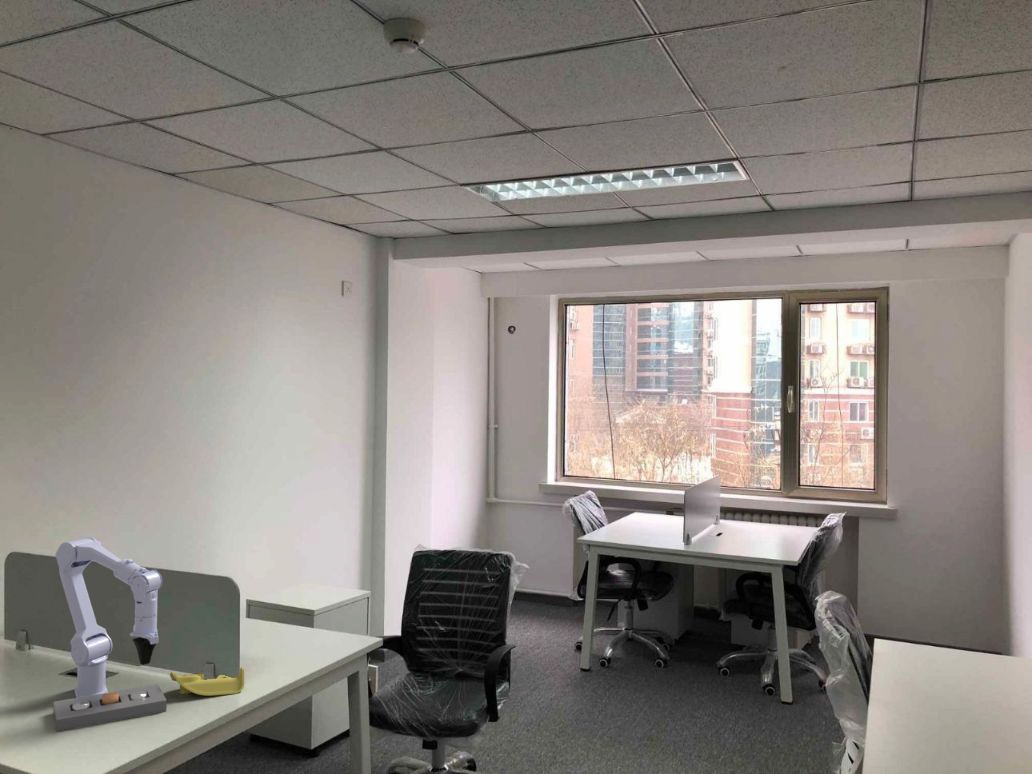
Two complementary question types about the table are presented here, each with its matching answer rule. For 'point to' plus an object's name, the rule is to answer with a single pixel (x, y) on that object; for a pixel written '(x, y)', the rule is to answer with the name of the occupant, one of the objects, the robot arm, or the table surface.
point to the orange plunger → (110, 698)
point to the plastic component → (209, 684)
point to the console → (108, 708)
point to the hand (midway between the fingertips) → (144, 663)
